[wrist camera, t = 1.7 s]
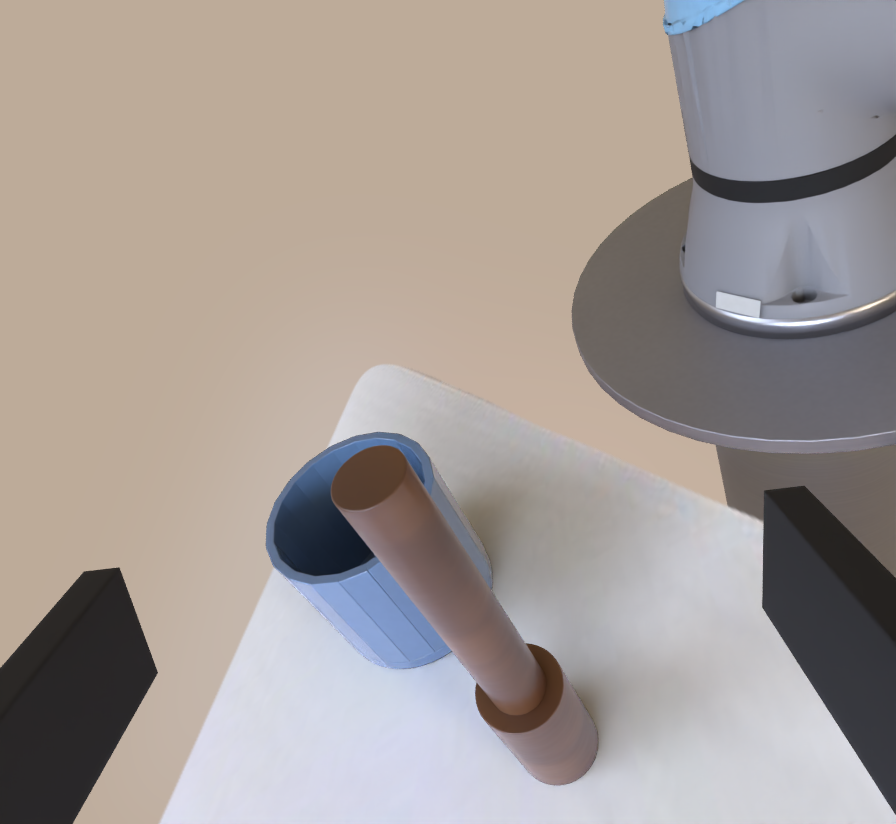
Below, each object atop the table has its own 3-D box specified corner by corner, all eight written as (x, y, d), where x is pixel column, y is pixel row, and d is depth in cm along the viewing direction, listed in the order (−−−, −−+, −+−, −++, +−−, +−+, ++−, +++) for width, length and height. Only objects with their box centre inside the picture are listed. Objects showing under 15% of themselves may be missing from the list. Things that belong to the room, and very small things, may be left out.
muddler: (567, 684, 35) (397, 407, 22) (615, 750, 32) (452, 475, 19) (504, 732, 34) (292, 477, 21) (547, 804, 31) (332, 558, 18)
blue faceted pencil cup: (448, 500, 46) (389, 405, 40) (523, 599, 39) (464, 502, 33) (326, 586, 45) (247, 501, 39) (380, 704, 38) (294, 622, 32)
